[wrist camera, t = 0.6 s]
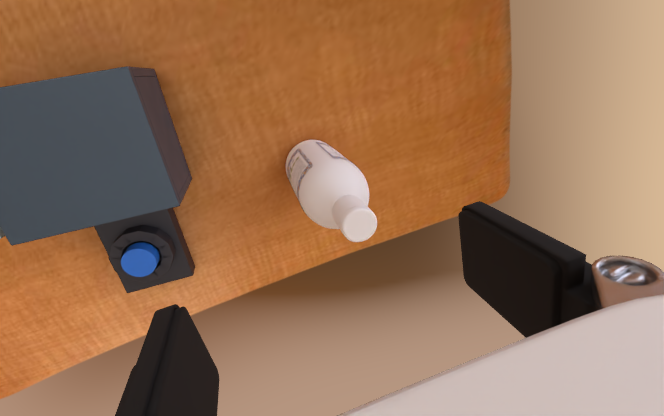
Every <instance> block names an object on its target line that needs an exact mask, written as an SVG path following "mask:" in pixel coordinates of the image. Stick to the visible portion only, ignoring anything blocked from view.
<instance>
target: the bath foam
mask: <svg viewBox="0 0 664 416" xmlns="http://www.w3.org/2000/svg"><path fill="white" fill-rule="evenodd" d="M286 174H287V177H288V179H289V181H290V184H291V186H292V188H293V190H294V192H295V194H296V196H297V198H298V200H299V202H300V205H301V207H302V209H303V210H304V212H305V213H306V214H307V216H308V217H309V218H310V219H311V220H313V221H314V222H315V223H317V224H319V225H321V226H323V227H326V228H330V229H340V230H341V232H342V233H343V235H344V236H345V237H346V238H347V239H348V240H350V241H353V242H362V241H365V240H367V239H369V238H370V237H371V236H372V235H373V234H374V232H375V230H376V227H377V219H376V216H375V214H374V213H373V212H372V211H371V210H370V209H369V208H368V207H367V206H368V202H369V188H368V184H367V181H366V179H365V177H364V175H363V174H362V172H361V171H360V170H359V168H358V167H357V166H356V165H354V164H353V163H352V162H350V161H349V160H348V159H346V158H345V157H344V156H343V155H341V154H340V153H339V152H337V151H336V150H335V149H333V148H332V147H331V146H329V145H328V144H326V143H325V142H322V141H319V140H306V141H303V142H301V143H299V144H297V145H296V146H295V147H294V148H293V149H292V150H291V151H290V153H289V155H288V157H287V160H286Z"/></svg>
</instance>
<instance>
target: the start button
mask: <svg viewBox="0 0 664 416" xmlns="http://www.w3.org/2000/svg"><path fill="white" fill-rule="evenodd" d="M159 258H160V255H159V252H158V250H157V248H156V247H154V246H153V245H151V244H149V243H146V242H138V243H134V244H132V245H131V246H129V247H128V248H127V250H126V251H125V253H124V255H123V256H122V258H121V266H122V268H123V270H124V271H125V272H126V273H128V274H129V275H131V276H135V277H144V276H147V275H149V274H151V273H152V272H153V271H154V270H155V268H156V266H157V264H158V261H159Z"/></svg>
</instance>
